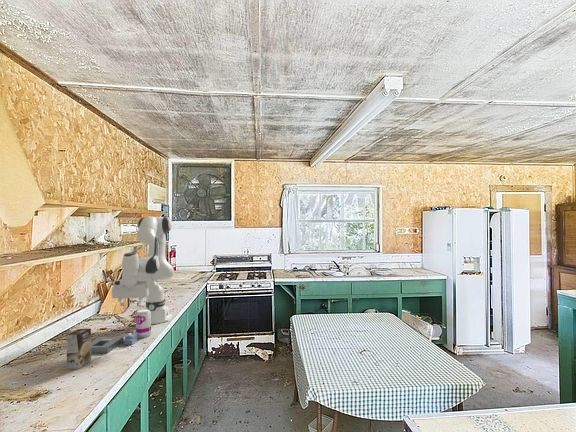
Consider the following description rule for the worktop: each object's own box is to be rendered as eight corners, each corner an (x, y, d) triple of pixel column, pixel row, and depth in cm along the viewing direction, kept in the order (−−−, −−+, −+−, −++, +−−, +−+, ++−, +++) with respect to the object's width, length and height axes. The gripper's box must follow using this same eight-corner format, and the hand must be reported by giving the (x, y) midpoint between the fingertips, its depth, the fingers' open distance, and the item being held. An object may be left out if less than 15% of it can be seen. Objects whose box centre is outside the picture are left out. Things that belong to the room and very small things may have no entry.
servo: (131, 339, 196) (131, 330, 196) (138, 339, 196) (138, 329, 196) (123, 345, 186) (123, 335, 187) (130, 345, 186) (130, 335, 186)
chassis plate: (99, 342, 192) (99, 336, 193) (123, 342, 192) (123, 336, 192) (81, 353, 176) (81, 347, 177) (107, 353, 176) (107, 347, 176)
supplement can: (145, 338, 197) (145, 312, 197) (133, 337, 199) (132, 312, 199) (153, 333, 205) (153, 309, 205) (141, 333, 207) (141, 308, 207)
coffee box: (79, 369, 158) (79, 334, 158) (66, 369, 158) (65, 334, 158) (91, 360, 167) (91, 328, 167) (79, 360, 167) (78, 328, 167)
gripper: (150, 280, 195) (151, 304, 194) (116, 280, 196) (116, 304, 195) (146, 281, 189) (146, 306, 188) (110, 282, 189) (110, 307, 189)
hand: (130, 305), depth 192 cm, fingers open, 8 cm apart
